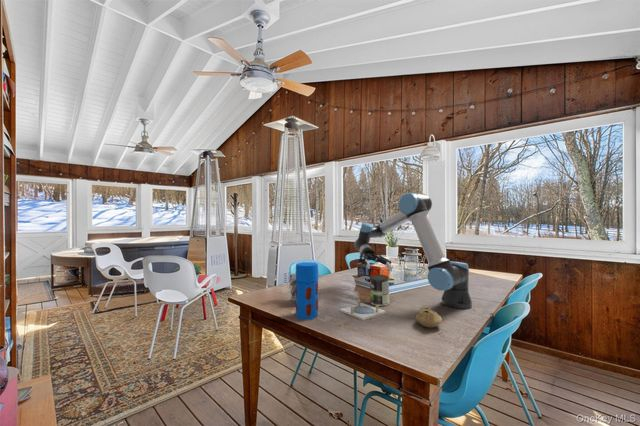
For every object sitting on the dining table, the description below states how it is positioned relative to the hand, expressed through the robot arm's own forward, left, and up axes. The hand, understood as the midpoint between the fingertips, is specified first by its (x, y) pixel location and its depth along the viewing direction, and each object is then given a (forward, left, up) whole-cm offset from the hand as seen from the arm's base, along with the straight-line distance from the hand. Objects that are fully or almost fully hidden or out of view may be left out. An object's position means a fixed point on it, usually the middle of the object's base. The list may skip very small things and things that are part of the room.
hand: (380, 268), depth 164 cm
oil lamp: (-35, +10, -19) cm, 41 cm away
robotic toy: (+28, +37, -19) cm, 50 cm away
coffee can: (-2, +3, -19) cm, 19 cm away
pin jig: (-6, +21, -19) cm, 28 cm away
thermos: (+7, +46, -19) cm, 50 cm away
